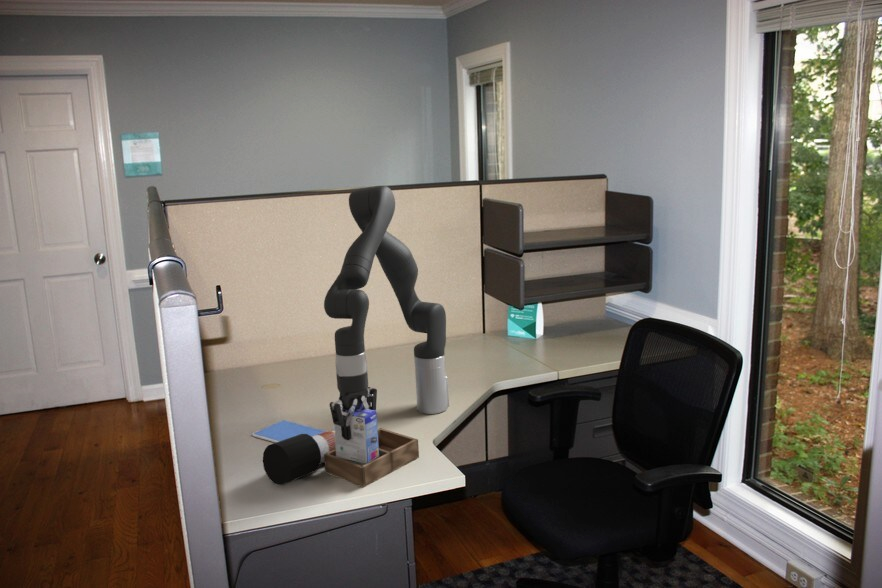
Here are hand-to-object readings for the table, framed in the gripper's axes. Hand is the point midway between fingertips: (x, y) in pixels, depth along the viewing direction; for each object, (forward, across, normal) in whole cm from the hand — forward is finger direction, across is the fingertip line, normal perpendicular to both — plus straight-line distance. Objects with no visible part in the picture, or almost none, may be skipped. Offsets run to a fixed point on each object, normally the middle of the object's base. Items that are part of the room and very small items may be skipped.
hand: (356, 434), depth 180 cm
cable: (+10, 0, -12) cm, 16 cm away
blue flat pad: (+11, -5, -34) cm, 36 cm away
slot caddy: (+10, -5, 0) cm, 11 cm away
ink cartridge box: (+6, 0, 0) cm, 6 cm away
